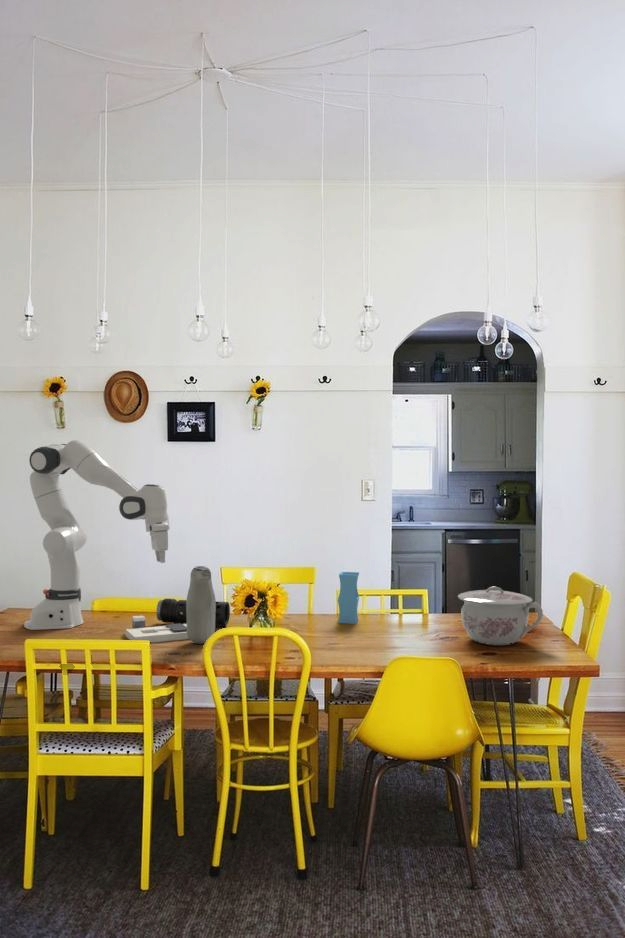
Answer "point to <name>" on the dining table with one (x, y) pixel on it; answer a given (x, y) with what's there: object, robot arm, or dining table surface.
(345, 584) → the vase
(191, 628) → the grey bottle
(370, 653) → the dining table surface
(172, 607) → the black camera lens
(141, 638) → the outlet board
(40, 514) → the robot arm
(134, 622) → the charger plug
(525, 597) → the chamber pot
